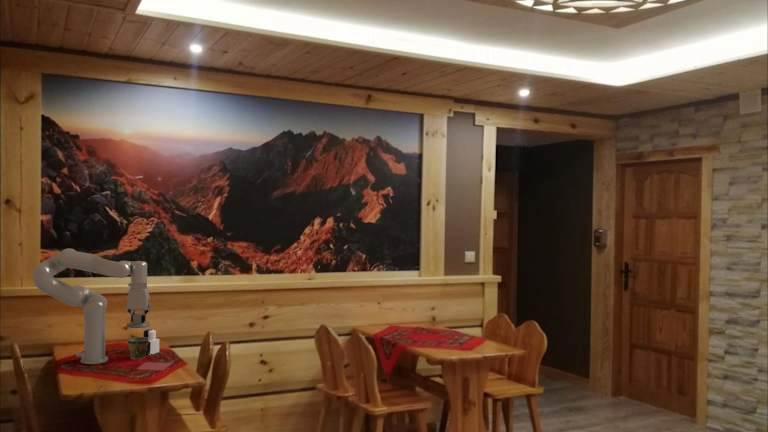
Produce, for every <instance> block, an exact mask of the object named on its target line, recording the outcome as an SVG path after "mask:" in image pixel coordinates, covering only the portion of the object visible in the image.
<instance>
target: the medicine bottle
mask: <svg viewBox="0 0 768 432" xmlns="http://www.w3.org/2000/svg"><path fill="white" fill-rule="evenodd" d="M156 334H157V331H156V330H155V329H145V330H144V331H143V337H146V338H149V341H148V345H147V349H146V354H148V355H147V356H151V354H152V355H155V354H158V353H160V338H157V335H156ZM146 354H145V355H146Z"/></svg>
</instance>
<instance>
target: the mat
mask: <svg viewBox="0 0 768 432" xmlns="http://www.w3.org/2000/svg"><path fill="white" fill-rule="evenodd" d="M172 364H173V362H152V361H151V362H149V361H148V362H143V364H141V365H140V366H139V367H137V368H136V370H141V371H142V370H144V371H164V370H167V368H168V367H170V366H171V365H172Z"/></svg>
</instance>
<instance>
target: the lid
mask: <svg viewBox="0 0 768 432" xmlns="http://www.w3.org/2000/svg"><path fill="white" fill-rule="evenodd" d="M141 316H142V312H135V314H133V323H132V321H131V322H127V323H126V327H127V328H128V329H129V328H130V329H142V328H143V329H144V328H148V327H150V326H151V323H150V322H148V321H145V322H144V323H141Z"/></svg>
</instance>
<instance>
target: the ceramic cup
mask: <svg viewBox="0 0 768 432" xmlns="http://www.w3.org/2000/svg"><path fill="white" fill-rule="evenodd" d="M148 341H149V338H146V337H144V336H134V337H130V338H128V339H127V345H128V348H129V349H128V350H129V357H130V360H136V361H137V360H138V361H139V360H143V359H145V357H146V349H147V345H148Z"/></svg>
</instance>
